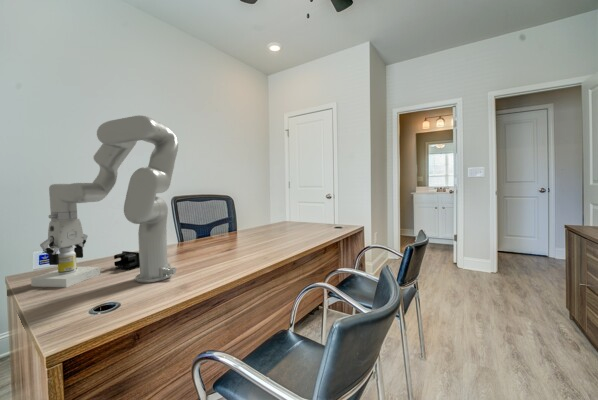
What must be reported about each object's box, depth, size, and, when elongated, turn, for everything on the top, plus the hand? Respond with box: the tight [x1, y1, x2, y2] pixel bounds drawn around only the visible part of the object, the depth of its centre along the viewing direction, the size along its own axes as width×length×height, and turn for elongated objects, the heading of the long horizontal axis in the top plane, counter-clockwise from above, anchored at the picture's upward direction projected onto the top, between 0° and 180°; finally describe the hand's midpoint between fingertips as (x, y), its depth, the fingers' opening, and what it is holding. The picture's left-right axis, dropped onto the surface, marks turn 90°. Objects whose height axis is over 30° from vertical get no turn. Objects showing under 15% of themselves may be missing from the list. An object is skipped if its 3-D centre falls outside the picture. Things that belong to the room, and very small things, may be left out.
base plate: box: [30, 266, 101, 288], centre depth 101 cm, size 14×14×3 cm
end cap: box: [113, 250, 140, 271], centre depth 117 cm, size 10×7×7 cm
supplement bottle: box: [57, 245, 78, 274], centre depth 101 cm, size 5×5×10 cm
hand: (67, 261), depth 101 cm, fingers open, 9 cm apart
